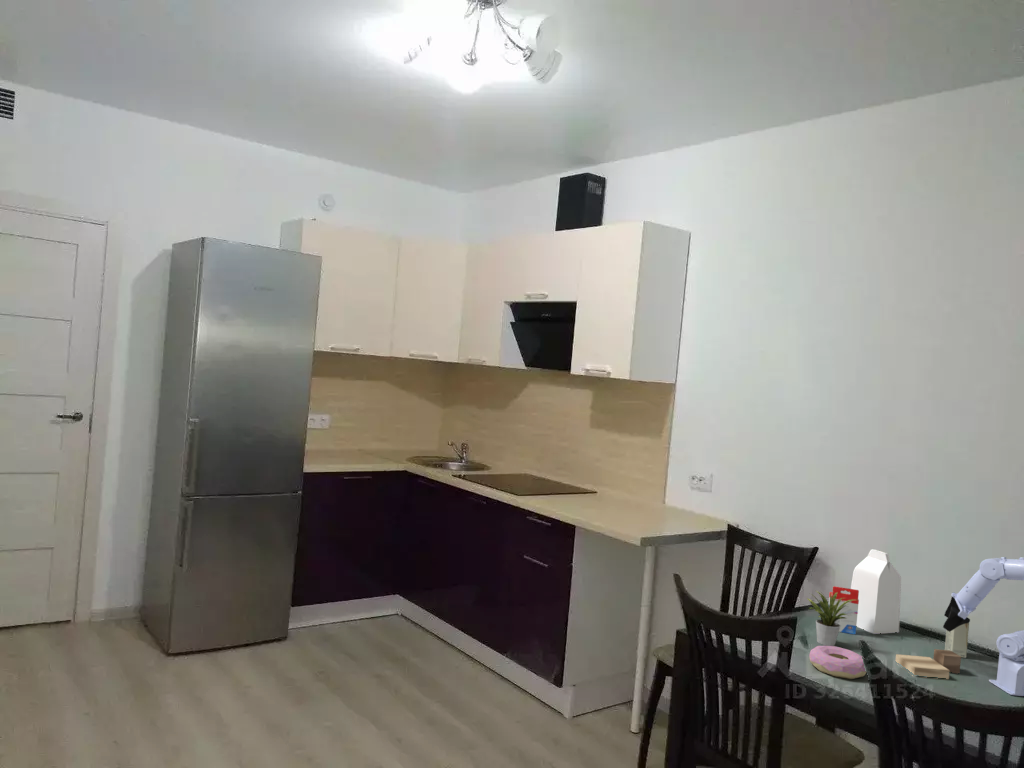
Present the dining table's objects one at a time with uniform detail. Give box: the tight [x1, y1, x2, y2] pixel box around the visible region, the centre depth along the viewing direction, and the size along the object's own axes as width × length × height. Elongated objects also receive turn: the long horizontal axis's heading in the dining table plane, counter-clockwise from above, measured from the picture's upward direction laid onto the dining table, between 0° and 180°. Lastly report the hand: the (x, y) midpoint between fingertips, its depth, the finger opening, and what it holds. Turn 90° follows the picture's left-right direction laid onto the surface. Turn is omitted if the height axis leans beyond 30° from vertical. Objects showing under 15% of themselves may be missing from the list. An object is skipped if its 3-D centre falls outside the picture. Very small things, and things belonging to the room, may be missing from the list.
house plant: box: [806, 590, 853, 646], centre depth 237 cm, size 14×14×16 cm
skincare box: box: [944, 622, 970, 659], centre depth 237 cm, size 6×4×12 cm
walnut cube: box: [932, 648, 962, 674], centre depth 222 cm, size 5×5×5 cm
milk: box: [850, 548, 902, 635], centre depth 258 cm, size 12×12×26 cm
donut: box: [808, 645, 867, 680], centre depth 213 cm, size 16×15×5 cm
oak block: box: [895, 653, 950, 680], centre depth 219 cm, size 10×10×3 cm
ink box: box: [828, 585, 859, 635], centre depth 251 cm, size 8×5×15 cm, turn 74°
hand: (946, 623), depth 227 cm, fingers open, 7 cm apart
